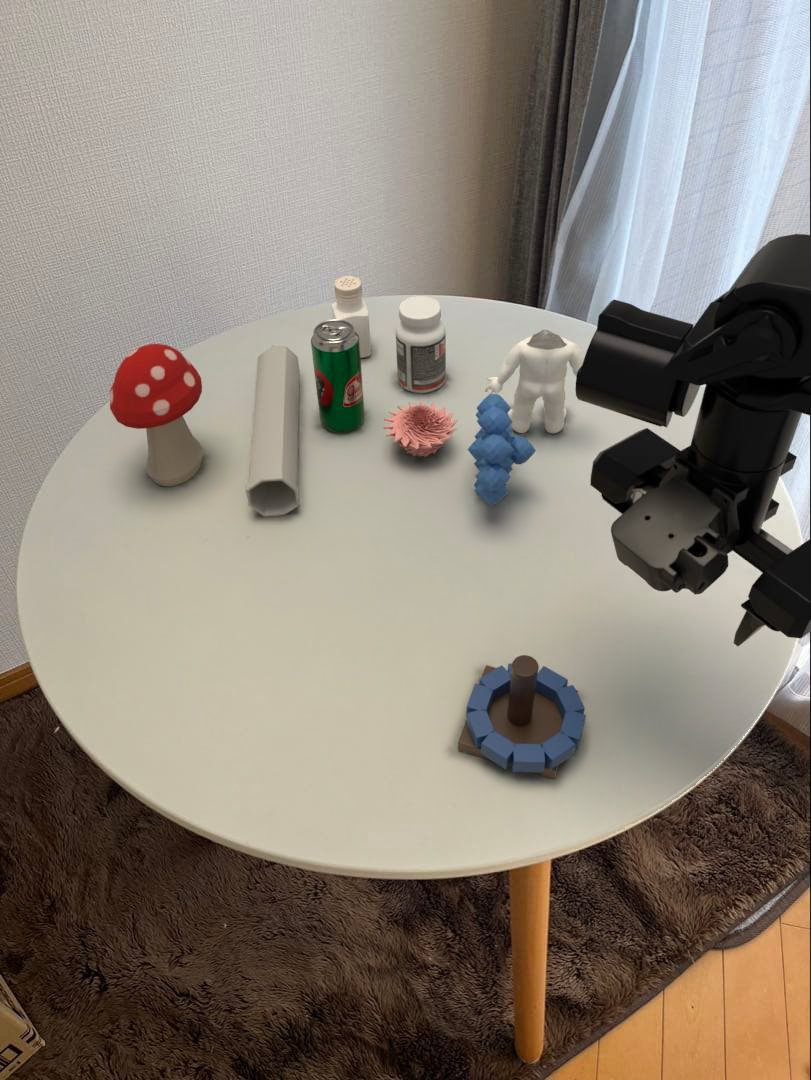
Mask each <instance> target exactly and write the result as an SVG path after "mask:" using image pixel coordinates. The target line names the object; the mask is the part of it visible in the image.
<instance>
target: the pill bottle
mask: <svg viewBox="0 0 811 1080" xmlns="http://www.w3.org/2000/svg"><path fill="white" fill-rule="evenodd" d="M398 318H399V321H398V323H397V324H396V326H395V348H396V370H397V371H396V372H397V380H398V383H399V384H400V386H401V387H402V388H403V389H405V390H407V391H410V392H412V393H416V394H425V393H432V392H433V391H435V390H438V389H439V388H440V387H442V385H444V383H445V381H446V378H447V377H446V376H447V375H446V374H447V367H446V365H447V363H446V361H447V357H446V355H447V352H446V351H447V350H446V349H447V348H446V347H447V345H446V343H447V340H446V339H447V338H446V337H447V336H446V334H447V333H446V326H445V323H444V321H442V319H441V318H442V308H441V303H440V302H439V301H438V300H436V298H433V297H431V296H426V295H416V296H411V297H408V298H406V299H404V300H403V301H402V302H400V304H399V307H398Z"/></svg>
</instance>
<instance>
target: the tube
mask: <svg viewBox="0 0 811 1080" xmlns="http://www.w3.org/2000/svg"><path fill="white" fill-rule="evenodd" d="M255 377H256V378H255V379H256V380H255V389H254V391H255V392H254V404H253V405H254V406H253V419H252V421H253V422H252V434H251V446H250V458H249V459H250V461H249V475H248V485H246V486H245V493H246V498H247V503H248V506H249V507H250V508H251V509H253V510H254V511H256V512H257V513H258V514H260V515H261V516H262V517H263V518H264V517H276V516H277V517H281V516H285V515H287V514H289V513H290V512H291V511H293V510H295V509H296V508H298V507H299V506H300V505H301V504H300V495H299V490H298V487H299V485H298V483H299V481H298V480H299V479H298V478H299V431H300V430H299V424H300V423H299V420H300V418H299V417H300V364H299V356H297V355H296V353H295V352H294V351H292V350H291V349H290V348H289V347H288V346H284V345H274V344H273V345H271V346H269V347H268V348H266V350H265V351H263V352H262V353H261V354H260V355H258V356H257V364H256V376H255Z"/></svg>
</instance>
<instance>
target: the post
mask: <svg viewBox="0 0 811 1080" xmlns="http://www.w3.org/2000/svg"><path fill="white" fill-rule="evenodd" d="M511 663H512V671H511V681H510V691H508V692H506V693H505V694H503V695H502V696H500V697H498V698H497V699H495V700H493V701H492V703H491V706H490V709H489V712H488V716H489V718H490V720H491V723H492V725H493V728H494V730H495V731H496V732H497V733H499V734H501V735H502V736H504V737H505V738H507V739H509V740H510V741H512V742H513V743H515V744H542V743H543V742H545V741H546V740H548V739H549V738H551V737H553V736H554V735H556V734H557V733H559V732H560V730H561V726H562V723H563V719H562V717H561V714H560V712H559V710H558V708H557V706H556V704H555V702H554V701H552V700H550V699H549V698H547V697H545V696H544V695H542V694H540V693H539V692H537V691H535V690H536V683H537V675H538V672H539V667H540V665H539V663H538V661H537V659H535V657H533V656H531V655H528V654H523V655H518V656H516V657H515V658H514V659H513V660H512V662H511ZM496 668H497V667H494V666H490V665H485V667H484V669H483V672H482V675H481V677H483V676H485V675H486V674H488V673H490V672H491V671H493V670H495V669H496ZM575 690H576V692H577V694H578V693H579V690H578V689H575ZM578 695H579V694H578ZM466 722H467V718H466V719H465V722H464V725H463V727H462V730H461V733H460V736H459V738H458V741H457V750H458V751H460V752H463V753H467V754H470V755H474V756H477V757H480V758H483V759H486V760H489V761H491V760H490V759H489V758H487V757H486V756H484V755H482V754H481V747H478V748H476V747H475V744H474V742H473V739H472V737H471V734H470V732H469V729H468V727H467V724H466ZM509 766H510V767H512V762H511V763H510V765H509ZM509 766H508V767H509ZM558 769H559V765H558V766H556V767H555V768H553V769H552V770H550V769H549V768H548V767H547V766H546V765H545V767H544V772H532V773H533V774H536V775H539V776H542V777H546V778H550V779H552V780H555V779H556V776H557V772H558Z"/></svg>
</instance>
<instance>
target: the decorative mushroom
mask: <svg viewBox="0 0 811 1080" xmlns="http://www.w3.org/2000/svg"><path fill="white" fill-rule="evenodd" d="M202 382H203V381H202V376H201V375H200V374H199V372H198V370H197V369H196V367H195V366H194V365H193V364H192V363H191V362H190V361H189V360H188V358H186V357H185V356H184V355H183V353H182V352H181V351H179V350H178V349H176V348H174V347H172V346H170V345H168V344H162V343H149V344H146V345H142V346H140V347H138V348H136V349H134V350H133V351H131V352H130V353H129V354H128V355H127V356H126V357H125V358H124V359H123V360H122V361H121V363H120V364H119V367H118V368H117V370H116V373H115V375H114V380H113V383H112V385H111V387H110V390H109V410H110V411H111V413H112V415H113V417H114V419H115V420H116V421H117V422H118V423H119V424H121V425H123V426H124V427H127V428H131V429H136V430H142V429H145V430H146V441H147V453H148V454H147V460H146V469H145V470H146V472H147V474H148V476H149V477H150V478H151V480H152V481H153V482H154V483H156V484H157V485H159V486H160V487H161V486H162V487H175V486H178V485H181V484H183V483H185V482H187V481H189V480H190V479H191V478H193V477H194V476H195V475H196V474H197V473H198V471H199V470H200V469H201V466H202V463H203V454H204V453H203V449H204V448H203V446H202V444H201V442H200V441H198V439H197V438H196V437H194V435H193V433H192V432H191V430H190V428H189V425H188V424H187V422H186V419H185V418H184V416H185V415H186V414H187V413H189V412H190V411H191V410H192V409H193V408H194V407H195V405H196V404H197V403H198V402H199V400H200V398H201V395H202V392H203V384H202Z"/></svg>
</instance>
